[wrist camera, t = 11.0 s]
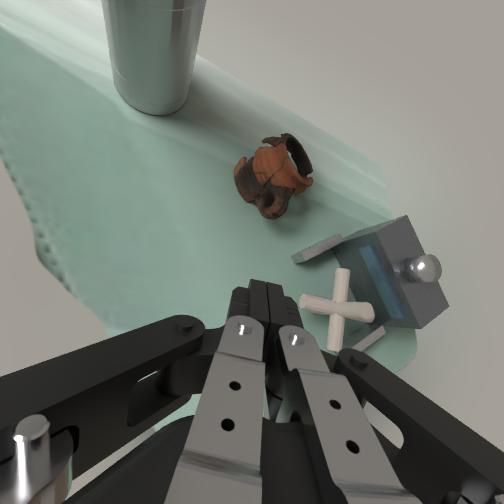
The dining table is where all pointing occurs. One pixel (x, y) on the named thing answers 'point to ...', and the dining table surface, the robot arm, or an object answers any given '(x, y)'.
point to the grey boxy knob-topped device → (386, 277)
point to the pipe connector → (338, 309)
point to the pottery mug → (274, 175)
